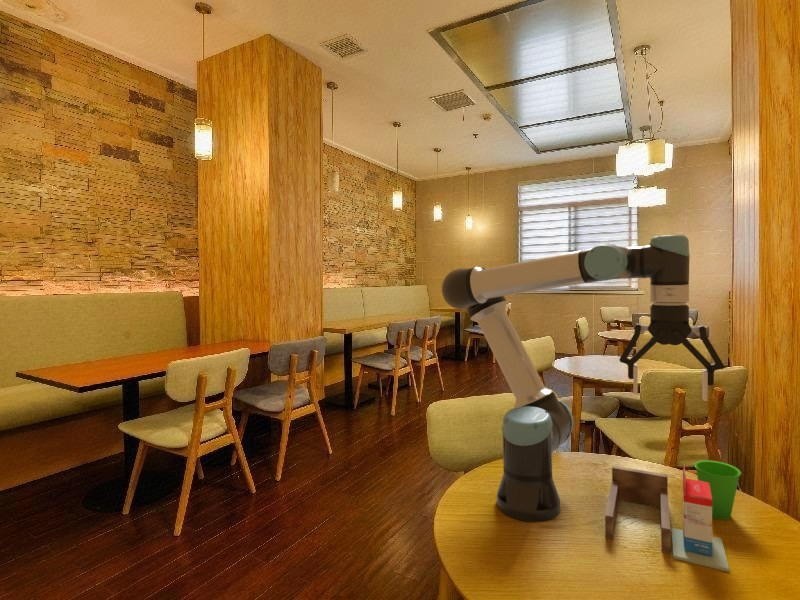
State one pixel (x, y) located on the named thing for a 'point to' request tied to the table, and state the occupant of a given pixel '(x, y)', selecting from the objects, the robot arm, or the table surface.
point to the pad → (714, 562)
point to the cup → (719, 485)
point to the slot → (639, 497)
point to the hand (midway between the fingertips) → (669, 396)
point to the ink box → (697, 516)
